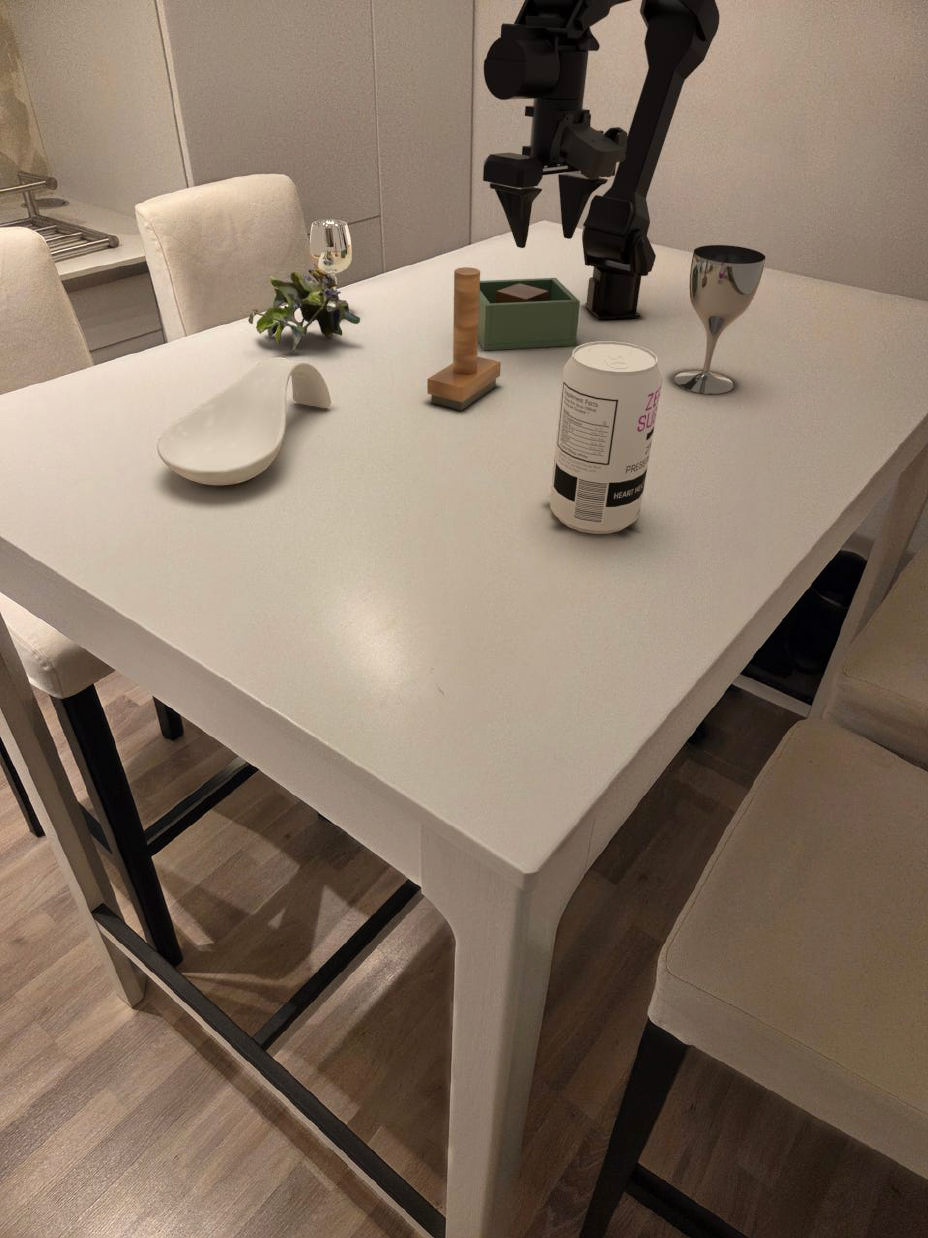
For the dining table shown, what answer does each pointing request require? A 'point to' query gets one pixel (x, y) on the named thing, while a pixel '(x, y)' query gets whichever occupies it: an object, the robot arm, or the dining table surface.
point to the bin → (527, 317)
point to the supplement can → (604, 435)
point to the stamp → (464, 350)
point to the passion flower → (304, 306)
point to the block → (521, 294)
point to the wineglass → (330, 246)
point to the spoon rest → (240, 424)
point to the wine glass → (719, 302)
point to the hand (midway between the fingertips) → (544, 242)
